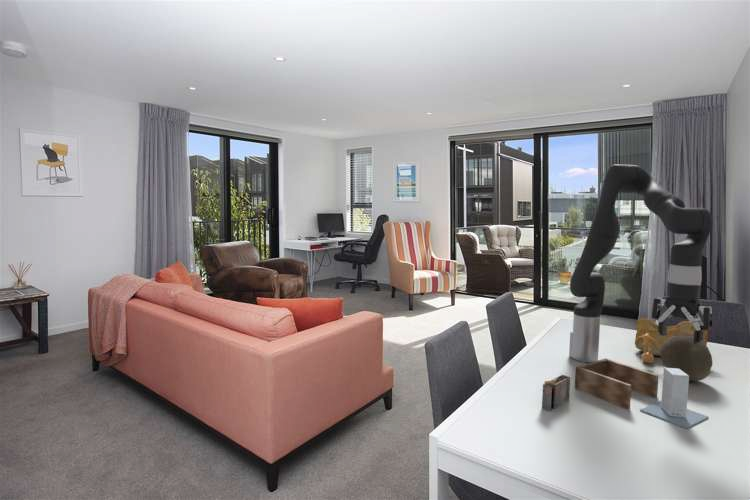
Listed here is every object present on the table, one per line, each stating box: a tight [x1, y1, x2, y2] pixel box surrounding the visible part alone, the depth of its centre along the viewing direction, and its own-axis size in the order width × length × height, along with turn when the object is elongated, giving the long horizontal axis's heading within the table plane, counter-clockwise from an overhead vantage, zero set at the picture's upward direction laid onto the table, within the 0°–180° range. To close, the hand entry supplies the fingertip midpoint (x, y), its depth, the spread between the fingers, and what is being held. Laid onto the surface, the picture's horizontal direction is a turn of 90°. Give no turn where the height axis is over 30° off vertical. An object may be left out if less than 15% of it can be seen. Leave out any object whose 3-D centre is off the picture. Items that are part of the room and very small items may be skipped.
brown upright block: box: [541, 374, 571, 412], centre depth 131 cm, size 11×3×10 cm, turn 131°
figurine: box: [634, 333, 660, 364], centre depth 165 cm, size 8×6×12 cm
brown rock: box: [660, 336, 713, 382], centre depth 150 cm, size 14×14×15 cm
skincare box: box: [660, 367, 690, 418], centre depth 125 cm, size 6×4×12 cm
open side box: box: [574, 358, 660, 410], centre depth 140 cm, size 17×16×7 cm
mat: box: [639, 400, 710, 430], centre depth 126 cm, size 12×12×1 cm
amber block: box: [634, 318, 709, 357], centre depth 176 cm, size 23×17×15 cm
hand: (679, 339), depth 123 cm, fingers open, 8 cm apart
